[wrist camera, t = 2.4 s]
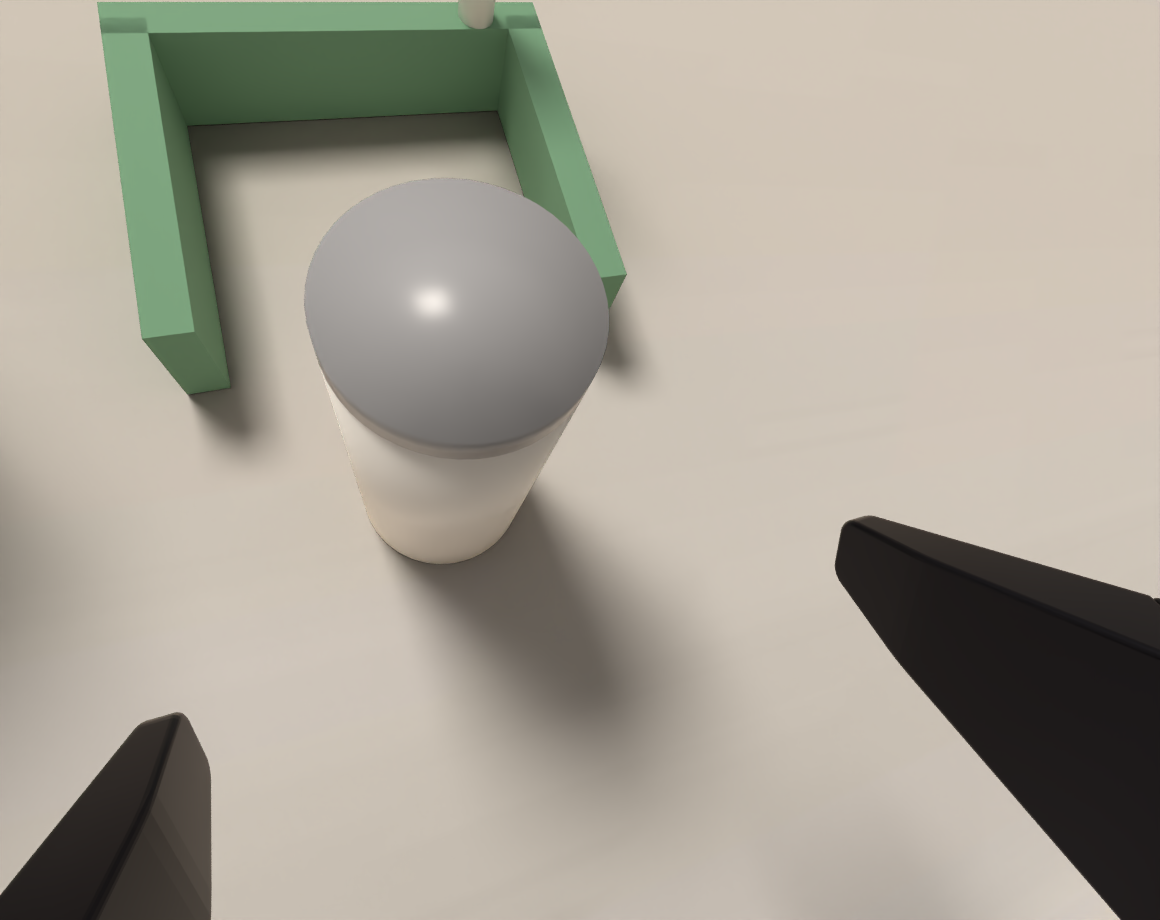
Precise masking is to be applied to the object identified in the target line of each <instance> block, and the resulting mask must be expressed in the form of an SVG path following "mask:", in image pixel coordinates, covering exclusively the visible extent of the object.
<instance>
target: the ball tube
mask: <svg viewBox="0 0 1160 920" xmlns="http://www.w3.org/2000/svg"><path fill="white" fill-rule="evenodd" d="M304 306H305V315H306V323H307V327H308V330H309V334H310V337H311V341H312V344H313V347H314V350H315V353H316V356H317V359H318V362H319V366H320V369H321V372H322V375H323V378H324V381H325V384H326V387H327V390H328V393H329V397H330V400H331V403H332V406H333V409H334V412H335V415H336V418H337V421H338V425H339V428H340V431H341V434H342V437H343V440H344V443H345V446H346V449H347V453H348V456H349V459H350V462H351V465H352V468H353V471H354V474H355V477H356V481H357V484H358V487H359V490H360V493H361V496H362V499H363V502H364V505H365V509H366V512H367V515H368V517H369V519H370V521H371V524H372V525H373V527H374V528H375V530H376V532H377V533H378V534H379V535H380V537H381V538H382V539H383V540H384V541H385V542H386V543H387V544H388V545H389V546H391V547H392V548H393V549H395V550H396V551H398V552H399V553H401V554H403V555H405V556H407V557H409V558H411V559H414V560H417V561H421V562H426V563H432V564H451V563H456V562H462V561H465V560H468V559H471V558H473V557H475V556H477V555H479V554H481V553H483V552H484V551H486V550H487V549H489V548H490V547H491V546H493V545H494V544H495V543H496V542H497V541H498V540H499V539H500V538H501V537H502V536H503V535H504V533H505V532H506V530H507V529H508V527H509V526H510V524H511V522H512V520H513V519H514V517H515V515H516V513H517V512H518V510H519V508H520V506H521V505H522V503H523V501H524V499H525V498H526V496H527V494H528V492H529V491H530V489H531V487H532V485H533V484H534V482H535V480H536V478H537V477H538V475H539V473H540V471H541V470H542V468H543V466H544V464H545V463H546V461H547V459H548V457H549V456H550V454H551V452H552V450H553V449H554V447H555V445H556V443H557V442H558V440H559V438H560V436H561V435H562V433H563V431H564V429H565V428H566V426H567V424H568V422H569V421H570V419H571V417H572V415H573V414H574V412H575V410H576V408H577V407H578V405H579V403H580V401H581V400H582V398H583V396H584V394H585V393H586V391H587V389H588V387H589V386H590V384H591V382H592V380H593V379H594V377H595V375H596V373H597V371H598V369H599V367H600V365H601V362H602V359H603V356H604V353H605V350H606V345H607V340H608V334H609V310H608V302H607V297H606V293H605V289H604V285H603V282H602V279H601V277H600V275H599V272H598V270H597V267H596V266H595V264H594V262H593V260H592V259H591V257H590V255H589V253H588V252H587V250H586V249H585V248H584V246H583V245H582V244H581V242H580V241H579V240H578V238H577V237H576V236H575V235H574V234H573V233H572V232H571V231H570V230H569V229H568V228H567V226H565V225H564V224H563V223H562V222H561V221H560V220H558V219H557V218H556V217H555V216H554V215H553V214H551V213H550V212H548V211H547V210H545V209H544V208H542V207H541V206H540V205H538V204H536V203H535V202H533V201H531V200H529V199H527V198H525V197H523V196H522V195H519V194H517V193H514V192H512V191H510V190H507V189H505V188H502V187H498V186H495V185H491V184H488V183H484V182H478V181H473V180H467V179H455V178H431V179H424V180H416V181H411V182H407V183H403V184H399V185H395V186H392V187H389V188H387V189H384V190H382V191H379V192H377V193H375V194H373V195H371V196H369V197H367V198H366V199H364V200H362V201H360V202H359V203H358V204H356V205H355V206H353V207H352V208H351V209H349V210H348V211H347V212H346V213H344V214H343V215H342V216H341V217H340V218H339V219H338V220H337V221H336V222H335V223H334V224H333V225H332V227H331V228H330V229H329V231H328V232H327V233H326V234H325V236H324V237H323V239H322V240H321V242H320V244H319V246H318V247H317V249H316V251H315V253H314V256H313V258H312V261H311V264H310V266H309V269H308V274H307V279H306V284H305V299H304Z"/></svg>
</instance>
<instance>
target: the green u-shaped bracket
mask: <svg viewBox="0 0 1160 920" xmlns="http://www.w3.org/2000/svg"><path fill="white" fill-rule="evenodd" d="M97 5H98V13H99V20H100V28H101V35H102V43H103V50H104V58H105V65H106V73H107V80H108V88H109V95H110V103H111V110H112V118H113V125H114V133H115V140H116V148H117V155H118V163H119V170H120V178H121V185H122V193H123V200H124V208H125V215H126V223H127V230H128V238H129V245H130V253H131V260H132V268H133V275H134V283H135V290H136V298H137V305H138V313H139V320H140V328H141V335H142V339H143V341H144V342H145V343H146V344H147V346H148V347H149V348H150V349H151V350H152V352H153V353H154V354H155V355H156V357H157V358H158V359H159V360H160V361H161V363H162V364H163V365H164V366H165V368H166V369H167V370H168V371H169V373H170V374H171V375H172V376H173V377H174V379H175V380H176V381H177V382H178V384H179V385H180V386H181V387H182V388H183V390H184V391H185V392H186V393H187V395H188V394H194V393H201V392H207V391H213V390H220V389H226V388H231V386H230V380H229V374H228V368H227V362H226V356H225V350H224V344H223V338H222V332H221V326H220V320H219V314H218V308H217V302H216V296H215V290H214V284H213V278H212V272H211V266H210V260H209V254H208V248H207V242H206V236H205V230H204V224H203V218H202V212H201V206H200V200H199V194H198V188H197V182H196V176H195V170H194V164H193V158H192V152H191V146H190V140H189V134H188V128H187V126H191V125H211V124H232V123H252V122H272V121H292V120H313V119H333V118H353V117H374V116H394V115H414V114H435V113H455V112H475V111H496V110H497V111H498V114H499V117H500V120H501V124H502V127H503V130H504V133H505V136H506V139H507V143H508V146H509V149H510V152H511V155H512V159H513V162H514V165H515V168H516V171H517V175H518V178H519V181H520V184H521V187H522V191H523V194H524V197H525V198H527V199H529V200H531V201H533V202H535V203H536V204H538V205H540V206H541V207H542V208H544V209H545V210H547V211H548V212H550V213H551V214H553V215H554V216H555V217H556V218H557V219H558V220H560V221H561V222H562V223H563V224H564V225H565V226H567V228H568V229H569V230H570V231H571V232H572V233H573V234H574V235H575V236H576V237H577V238H578V240H579V241H580V242H581V244H582V245H583V246H584V248H585V249H586V250H587V252H588V253H589V255H590V257H591V259H592V260H593V262H594V264H595V266H596V267H597V270H598V272H599V275H600V277H601V279H602V282H603V285H604V289H605V293H606V297H607V302H608V310H609V308H610V306H611V304H612V302H613V300H614V298H615V296H616V294H617V293H618V291H619V289H620V287H621V285H622V283H623V281H624V279H625V277H626V275H627V274H626V271H625V268H624V265H623V262H622V259H621V256H620V253H619V251H618V248H617V245H616V242H615V239H614V236H613V233H612V230H611V227H610V225H609V222H608V219H607V216H606V213H605V210H604V207H603V204H602V202H601V199H600V196H599V193H598V190H597V187H596V184H595V181H594V178H593V176H592V173H591V170H590V167H589V164H588V161H587V158H586V155H585V152H584V150H583V147H582V144H581V141H580V138H579V135H578V132H577V129H576V127H575V124H574V121H573V118H572V115H571V112H570V109H569V106H568V103H567V101H566V98H565V95H564V92H563V89H562V86H561V83H560V80H559V78H558V75H557V72H556V69H555V66H554V63H553V60H552V57H551V54H550V52H549V49H548V46H547V43H546V40H545V37H544V34H543V31H542V28H541V26H540V23H539V20H538V17H537V14H536V11H535V8H534V5H533V3H532V2H495V0H458V2H97Z"/></svg>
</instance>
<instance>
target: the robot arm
mask: <svg viewBox="0 0 1160 920" xmlns="http://www.w3.org/2000/svg"><path fill="white" fill-rule="evenodd" d="M835 571H836V574H837V577H838V579H839V581H840V582H841V584H842V585H843V586H844V588H845V589H846V591H847V592H848V593H849V595H850V596H851V598H852V599H853V600H854V602H855V603H856V605H857V606H858V607H859V609H860V610H861V612H862V613H863V614H864V616H865V617H866V619H867V620H868V621H869V623H870V624H871V626H872V627H873V628H874V630H875V631H876V633H877V634H878V635H879V637H880V638H881V640H882V641H883V642H884V644H885V645H886V647H887V648H888V649H889V651H890V652H891V653H892V655H893V656H894V657H895V659H896V660H897V661H898V662H899V664H900V665H901V666H902V667H903V669H904V670H905V671H906V672H907V673H908V675H909V676H910V677H911V678H912V679H913V680H914V682H915V683H916V684H917V685H918V686H919V687H920V688H921V690H922V691H923V692H924V693H925V694H926V695H927V697H928V698H929V699H930V700H931V701H932V702H933V703H934V705H935V706H936V707H937V708H938V709H939V710H940V712H941V713H942V714H943V715H944V716H945V717H946V718H947V720H948V721H949V722H950V723H951V724H952V725H953V727H954V728H955V729H956V730H957V731H958V732H959V734H960V735H961V736H962V737H963V738H964V739H965V740H966V742H967V743H968V744H969V745H970V746H971V747H972V749H973V750H974V751H975V752H976V753H977V754H978V755H979V757H980V758H981V759H982V760H983V761H984V762H985V764H986V765H987V766H988V767H989V768H990V769H991V771H992V772H993V773H994V774H995V775H996V776H997V777H998V779H999V780H1000V781H1001V782H1002V783H1003V784H1004V786H1005V787H1006V788H1007V789H1008V790H1009V791H1010V792H1011V794H1012V795H1013V796H1014V797H1015V798H1016V799H1017V801H1018V802H1019V803H1020V804H1021V805H1022V806H1023V808H1024V809H1025V810H1026V811H1027V812H1028V813H1029V814H1030V816H1031V817H1032V818H1033V819H1034V820H1035V821H1036V823H1037V824H1038V825H1039V826H1040V827H1041V828H1042V829H1043V831H1044V832H1045V833H1046V834H1047V835H1048V836H1049V838H1050V839H1051V840H1052V841H1053V842H1054V843H1055V844H1056V846H1057V847H1058V848H1059V849H1060V850H1061V851H1062V853H1063V854H1064V855H1065V856H1066V857H1067V858H1068V860H1069V861H1070V862H1071V863H1072V864H1073V865H1074V866H1075V868H1076V869H1077V870H1078V871H1079V872H1080V873H1081V875H1082V876H1083V877H1084V878H1085V879H1086V880H1087V881H1088V883H1089V884H1090V885H1091V886H1092V887H1093V888H1094V890H1095V891H1096V892H1097V893H1098V894H1099V895H1100V897H1101V898H1102V899H1103V900H1104V901H1105V902H1106V903H1107V905H1108V906H1109V907H1110V908H1111V909H1112V910H1113V912H1114V913H1115V914H1116V915H1117V916H1118V917H1119V918H1120V920H1160V598H1154V599H1153V598H1152V597H1150V596H1149V595H1145V594H1142V593H1138V592H1135V591H1131V590H1128V589H1125V588H1121V587H1118V586H1114V585H1111V584H1107V583H1104V582H1100V581H1097V580H1093V579H1090V578H1086V577H1083V576H1080V575H1076V574H1073V573H1069V572H1066V571H1062V570H1059V569H1055V568H1052V567H1048V566H1045V565H1042V564H1038V563H1035V562H1031V561H1028V560H1024V559H1021V558H1017V557H1014V556H1010V555H1007V554H1003V553H1000V552H997V551H993V550H990V549H986V548H983V547H979V546H976V545H972V544H969V543H965V542H962V541H958V540H955V539H952V538H948V537H945V536H941V535H938V534H934V533H931V532H927V531H924V530H920V529H917V528H914V527H910V526H907V525H903V524H900V523H896V522H893V521H889V520H886V519H882V518H879V517H875V516H863V517H859V518H856V519H852V520H849V521H847V522H846V523H845V524H844V525H843V527H842V529H841V533H840V538H839V544H838V549H837V555H836V560H835ZM0 920H211V774H210V767H209V763H208V760H207V757H206V755H205V753H204V751H203V749H202V747H201V744H200V742H199V740H198V738H197V736H196V734H195V732H194V730H193V728H192V726H191V724H190V721H189V720H188V718H187V717H186V716H185V715H184V714H183V713H178V712H176V713H172V714H168V715H165V716H161V717H158V718H154V719H151V720H147V721H145V722H143V723H141V724H140V725H138V726H137V727H136V728H135V729H134V730H133V732H132V733H131V734H130V735H129V737H128V738H127V739H126V740H125V742H124V743H123V744H122V745H121V746H120V748H119V749H118V750H117V751H116V753H115V754H114V755H113V756H112V758H111V759H110V760H109V761H108V763H107V764H106V765H105V766H104V767H103V769H102V770H101V771H100V772H99V774H98V775H97V776H96V777H95V779H94V780H93V781H92V782H91V784H90V785H89V786H88V787H87V789H86V790H85V791H84V792H83V793H82V795H81V796H80V797H79V798H78V800H77V801H76V802H75V803H74V805H73V806H72V807H71V808H70V810H69V811H68V812H67V813H66V814H65V816H64V817H63V818H62V819H61V821H60V822H59V823H58V824H57V826H56V827H55V828H54V829H53V831H52V832H51V833H50V834H49V835H48V837H47V838H46V839H45V840H44V842H43V843H42V844H41V845H40V847H39V848H38V849H37V850H36V852H35V853H34V854H33V855H32V856H31V858H30V859H29V860H28V861H27V863H26V864H25V865H24V866H23V868H22V869H21V870H20V871H19V873H18V874H17V875H16V876H15V877H14V879H13V880H12V881H11V882H10V884H9V885H8V886H7V887H6V889H5V890H4V891H3V892H2V894H1V895H0Z"/></svg>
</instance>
